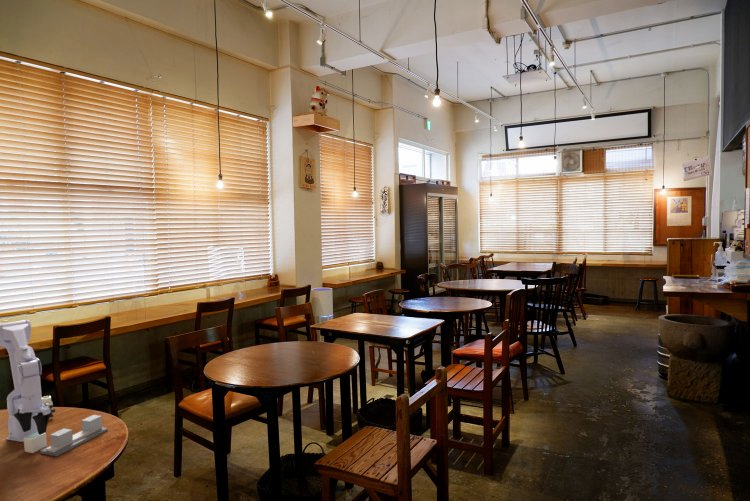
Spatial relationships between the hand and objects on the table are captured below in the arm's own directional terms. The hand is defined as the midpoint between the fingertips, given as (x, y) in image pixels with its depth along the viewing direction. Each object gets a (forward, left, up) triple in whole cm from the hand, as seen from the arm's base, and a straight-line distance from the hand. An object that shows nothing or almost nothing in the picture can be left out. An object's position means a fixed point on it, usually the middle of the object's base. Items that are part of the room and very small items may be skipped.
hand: (34, 432), depth 164 cm
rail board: (+9, +8, -6) cm, 13 cm away
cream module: (0, 0, -6) cm, 6 cm away
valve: (-25, +22, -7) cm, 34 cm away
